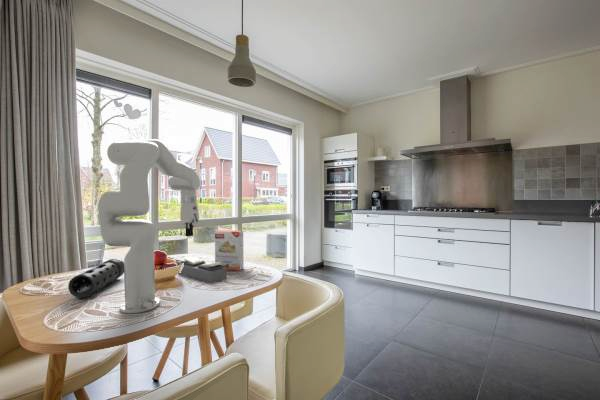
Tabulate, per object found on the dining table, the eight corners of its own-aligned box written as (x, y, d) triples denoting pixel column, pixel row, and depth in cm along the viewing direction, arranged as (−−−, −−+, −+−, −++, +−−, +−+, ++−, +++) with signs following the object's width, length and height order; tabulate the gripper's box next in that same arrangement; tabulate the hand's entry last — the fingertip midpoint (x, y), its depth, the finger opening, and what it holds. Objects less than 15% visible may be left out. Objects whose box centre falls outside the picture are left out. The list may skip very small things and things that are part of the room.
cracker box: (214, 270, 149) (214, 231, 149) (219, 267, 155) (219, 229, 155) (239, 271, 147) (239, 231, 147) (243, 268, 153) (243, 230, 153)
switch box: (226, 277, 136) (226, 265, 136) (210, 282, 129) (210, 269, 128) (194, 269, 151) (194, 258, 151) (178, 273, 144) (178, 261, 143)
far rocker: (202, 264, 144) (202, 260, 143) (193, 266, 139) (193, 262, 139) (192, 259, 148) (193, 256, 148) (184, 261, 144) (184, 258, 144)
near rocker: (220, 265, 135) (219, 261, 135) (211, 268, 131) (211, 264, 131) (209, 265, 140) (209, 262, 140) (201, 268, 136) (200, 264, 136)
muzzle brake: (67, 301, 108) (66, 274, 108) (106, 279, 136) (105, 257, 135) (94, 300, 109) (94, 273, 109) (127, 278, 137) (127, 257, 137)
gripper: (204, 200, 143) (204, 236, 144) (186, 200, 152) (187, 233, 152) (190, 200, 137) (191, 238, 138) (173, 200, 146) (174, 235, 146)
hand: (189, 235), depth 145 cm, fingers closed
